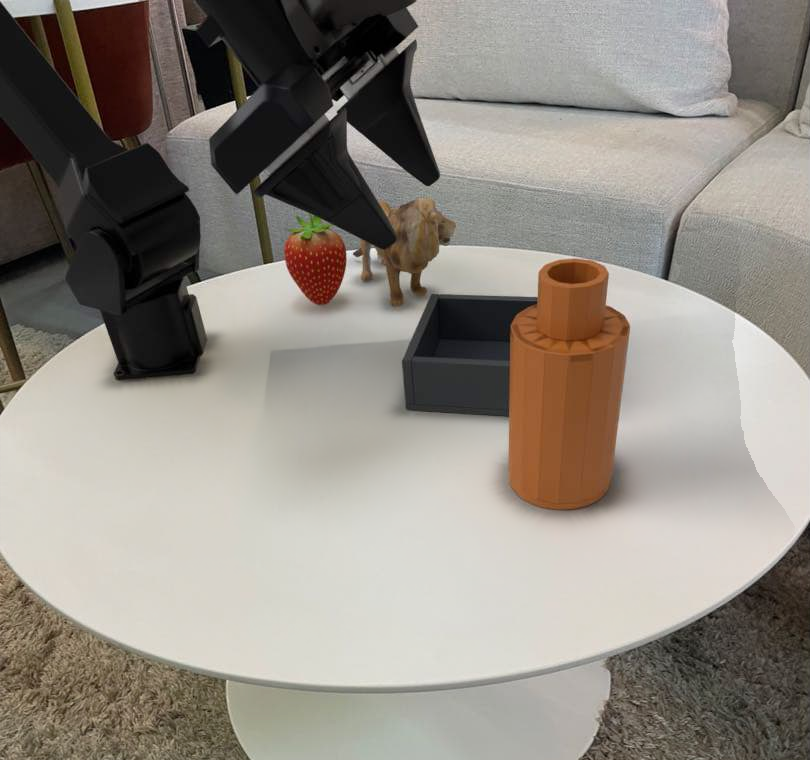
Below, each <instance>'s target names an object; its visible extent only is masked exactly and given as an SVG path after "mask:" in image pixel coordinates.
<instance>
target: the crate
mask: <svg viewBox="0 0 810 760" xmlns="http://www.w3.org/2000/svg"><path fill="white" fill-rule="evenodd" d="M537 299H538V296H516V295H515V296H514V295H485V294H454V293H453V294H451V293H440V294H439V293H431V294H430V296H429V298H428V300H427V303H426V305H425V307H424V310H423V312H422V314H421V317H420V319H419V321H418V323H417V326H416V328H415V330H414V332H413V335H412V337H411V339H410V341H409V343H408V346H407V348H406V351H405V353H404V355H403V357H402V359H401V368H402V369H401V370H402V380H403V382H402V383H403V391H404V402H405V404H404V405H405V407H404V408H405V410H406V411H421V412H437V413H453V414H466V415H467V414H468V415H469V414H470V415H472V414H473V415H485V416H501V417H509V398H510V336H511V324H512V322H513V320H514V318H515V317H516V315H517V314H519V313H520V312H522V311H523V310H525V309H526V308H528V307H530V306H533V305H537Z"/></svg>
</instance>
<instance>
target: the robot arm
mask: <svg viewBox="0 0 810 760" xmlns="http://www.w3.org/2000/svg"><path fill="white" fill-rule="evenodd" d="M191 1H192V2H193V4H194V5H195V6H196V8H197V9H198V11H199V12H200V13H201V14H202V15H203V17H204V19H203V20H202V21H201V22H200V23H199V25H198V26H197V27H196V29H195V30H194V31H195V32H196V34H197V35H198V36H199V37H200V38H201V40H202V41H203V42H204V44H205V45H206V46H207V48H210V47H212V46H213V45H215V44H217V43H218V42H220V41H221V40H222V41H223V43H224V44H225V46H226V47H227V48H228V50H229V51H230V53H232V54H233V56H234V58H235V59H236V60H237V61H238V63H240V66H242V67H243V69H244V70H245V72H246V73H247V74H248V75H249V77H250V78H251V80H252V81H253V82H254V83H255V85H256V86H257V87H258V88H257V89H256V90H255V91H254V92H253V93H252V94H251V95H250V96H249V97H248V98H247V99H245V101H244V102H243V103H242V104H241V105H240V106H239V107H238V109H237V110H235V112H234V113H233V114H232V115H231V116H230V117H229V118H228V119H227V120H226V121H225V122H224V123H223V124H221V126H220V127H219V128H218V129H217V130H216V131H215V132H214V133H213V134H212V135H211V136H210V137H209V138H208V143H209V144H208V145H209V155H210V165H211V167H212V168H213V169H214V170H215V171H216V172H217V174H218V175H219V176H220V177H221V179H222V180H223V181H224V182H225V183H226V184H227V186H228V187H229V188H230V189H231V190H232V192H233V193H234V194H235V195H236V196H238V195H239V194H240V193H241V192H242V191H243V190H244V189H245V188H246V187H247V186H249V185H250V183H252V182H253V181H254V180H255V179H256V178H257V177H258V176H259V175H261V174H262V173H263V172H264V173H265V175H267V177H266V178H264V180H263V181H262V182H261V183H259V185H257V187H256V188H255V189H254V190H252V193H253V194H254V195H255V196H256V197H257V198H259V199H262V198H263V197H264V196H268V197H271V198H272V199H275V200H277V201H280V202H281V203H284V204H286V205H289V206H292V207H294V208H296V209H298V210H301V211H302V212H305V213H308V214H309V213H310V214H311V216H314V215H315V216H317V217H319V218H321V219H322V221H324V222H327V223H328V224H329V223H331V224H333V225H332V226H335V227H336V228H339V229H341V230H342V231H345V232H346V233H349V234H350V235H352V236H354V237H356V238H359V239H362V240H364V241H366V242H368V243H370V244H372V246H373V247H374V246H376V247H378V248H380V249H382V250H386V249H387V248H389V247H390V246H391V245H393V244H394V243H395V242H396V241H397V235H396V233H395V231H394V229H393V227H392V225H391V223H390V221H389V219H388V218H387V216H386V214H385V212H384V211H383V209H382V207H381V206H380V204H379V202H378V201H377V200H378V199H377V197H376V195H375V193H373V191H372V189H371V188H370V186H369V184H368V182H367V181H366V179H365V178H364V176H363V174H362V173H361V171H360V170H359V168H358V165H356V163H355V161H354V160H353V158H352V156H351V155H350V153H349V150H348V124H349V125H350V126H351V127H352V128H354V129H355V131H357V132H358V133H359V134H361V135H362V136H363V137H364V138H366V139H367V140H368V141H369V142H370V143H372V144H373V145H374V146H375V147H376V148H378V149H379V150H380V151H381V152H383V153H384V154H385V155H386V156H387V157H388V158H390V159H391V161H393V162H395V163H396V164H397V165H398V166H399V167H400V168H402V169H403V170H404V171H405V172H406V173H408V174H409V175H410V176H412V177H413V178H414V179H416V180H417V181H419V182H420V183H421V184H422V185H424V186H425V187H431V186H432V185H434V183H437V181H438V180H439V179H440V177H441V172H440V169H439V166H438V163H437V160H436V157H435V155H434V152H433V150H432V146H431V143H430V140H429V138H428V134H427V132H426V129H425V127H424V123H423V121H422V118H421V116H420V115H421V114H420V112H419V109H418V106H417V103H416V99H415V96H414V93H413V90H412V86H411V78H412V73H413V64H414V57H415V54H416V51H418V41H417V39H413V41H412V42H410V43H409V44H408V45H407V46H406V47H405V48H403V50H402V51H401V52H399V51H398V50H397V47H398V46H400V44H402V43H403V42H404V41H405V40H406V39H407V38H408V37H409V36H410V35H412V33H413V32H414V31H416V30H417V29H418V28H419V27H420V26H419V25H418V24H417V22H416V20H415V18H414V17H413V16H412V13H411V12H410V11H409V9H408V7H410V6H412V5H414V4H415V3H416V2H417V1H418V0H191ZM343 97H344V98H345V99H346V100H347V101H346V102H345V103H343V105H341V107H340V108H338V110H337V111H336V114H335V115H334V116H333V117H332V118H331V119H329V118H328V116H327V115H326V113H328V112H329V111H330V110H331V109H332V108H333V107H334V101H335V102H337V103H338V102H339V101H340V100H341V99H342V98H343ZM0 117H1V119H2V120H3V121H4V122H5V124H6V125H7V126H8V127H9V129H10V130H11V131H12V132H13V133H14V135H15V136H16V137H17V138H18V140H19V141H20V143H22V145H24V147H25V148H26V149H27V150H28V151H29V153H30V154H31V155H32V156H33V158H34V159H35V160H36V161H37V162H38V164H39V165H40V166H41V167H42V169H43V170H44V171H45V172H46V174H47V175H48V176H49V177H50V178H51V180H52V181H53V182H54V183H55V185H56V186H57V188H58V194H59V199H60V204H61V210H62V215H63V222H64V228H65V230H66V232H67V234H68V235H69V237H70V238H71V240H72V241H73V242H74V244H75V245H76V247H77V248H76V250H75V252H74V254H73V257H72V259H71V262H70V264H69V267H68V269H67V271H66V274H65V276H64V278H65V282H66V283H67V286H68V287H69V288H70V290H71V292H72V294H73V295H74V297H75V299H76V301H77V303H78V304H79V305H81V306H84V307H88V308H92V309H94V310H99V311H100V314H101V318H102V321H103V323H104V326H105V329H106V332H107V334H108V337H109V340H110V343H111V346H112V349H113V351H114V354H115V357H116V360H117V365H116V367H115V370H114V372H113V377H114V380H116V381H129V380H130V381H131V380H141V379H151V378H164V377H176V376H188V375H193V374H195V373H196V372H197V369H198V366H199V363H200V360H201V357H203V354H204V353H205V349H206V345H207V343H208V336H207V333H206V329H205V324H204V321H203V317H202V313H201V309H200V306H199V302H198V297H197V296H196V295H195V294H194V293H191V294H189V291H188V287H187V283H186V279H185V278H186V277H188V276H190V275H191V274H195V273H196V272H198V271H199V270H200V254H201V253H200V248H201V236H202V235H201V216H200V213H199V212H198V210H197V207H196V206H195V204H194V202H193V201H192V199H191V198H190V197H189V196H188V194H186V193H188V192H189V191H190V188H189V186H188V185H186V184H185V183H184V182H182V181H181V180H180V179H179V178H178V177H177V176H176V175H175V174H174V173H173V172H172V170H171V169H170V167H169V166H168V164H167V163H166V161H165V159H164V158H163V156H162V155H161V153H160V152H159V151H158V150H157V149H156V148H155V147H154V146H152V145H151V144H150V143H148V142H145V143H143V144H140V145H137V146H135V147H132V148H130V149H128V148H126V147H125V146H122V145H120V144H118V143H116V142H115V141H113V140H112V138H110V137H109V136H108V135H107V133H106V132H105V131H104V129H102V127H101V126H100V124H98V122H97V121H96V119H94V117H93V116H92V114H91V113H90V112H89V111H88V110H87V108H86V107H85V106H84V104H82V102H81V101H80V100H79V99H78V97H77V96H76V94H75V93H74V92H73V91H72V89H71V88H70V87H69V86H68V84H67V83H66V82H65V81H64V80H63V78H62V77H61V76H60V74H59V73H58V72H57V70H56V69H55V68H54V67H53V66H52V64H51V63H50V62H49V60H48V59H47V58H46V57H45V55H44V54H43V53H42V52H41V51H40V49H39V47H37V45H36V44H35V43H34V42H33V40H32V39H31V38H30V37H29V35H28V34H27V33H26V32H25V30H24V29H23V28H22V26H21V25H20V24H19V23H18V21H17V20H16V19H15V18H14V17H13V15H12V14H11V13H10V11H9V9H7V7H6V6H5V5H4V4H3V2H1V1H0ZM310 214H309V215H310Z"/></svg>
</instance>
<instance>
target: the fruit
mask: <svg viewBox="0 0 810 760" xmlns="http://www.w3.org/2000/svg"><path fill="white" fill-rule="evenodd" d="M308 215H309V222H307V221H305V220H303V219H302V218H301V217H300V216H299V215H297V214H295V217H296V221H297V222H298V224H299V225H300V226H301V227H299V228H286V227H284V228H283V229H284V230H285V231H287V232H290V233H291V234H290V235H288V237H287V239H286V241H285V244H284V248H283V253H284V254H283V255H284V260H285V266H286V268H287V271H288V273H289V275H290V277H291V278H292V280H293V281H294V283H295V284H296V286H297V287H298V288H299V290H300V291H301V293H302V294H303V295H304V296H305V297H306V298H307V299H308V301H310V302H311V303H312V304H314V305H317V306H325V305H327V304H329V303H330V302H331V301H332V300H333V299H334V298H335V296H336V295H337V293H338V291H340V288H341V285H342V283H343V280H344V277H345V274H346V269H347V260H348V259H347V249H346V246H345V242H344V240H343V239H342V237H341V236H340V234H339V233H338V232H336V231H335V230H333V229H331V228H330V227H332V226H334V225H333V224H331V223H329V222H328V223H325V224H322V222H323V219H321V218H319V217H317V216H315V215H312V214H310V213H308ZM312 216H313V217H312Z"/></svg>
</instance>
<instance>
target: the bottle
mask: <svg viewBox="0 0 810 760" xmlns="http://www.w3.org/2000/svg"><path fill="white" fill-rule="evenodd" d="M609 275H610V273H609V271H608V269H607V268H606V266H605V265H603V264H601V263H599V262H597V261H594V260H591V259H584V258H577V257H576V258H562V259H557V260H555V261H551V262H548V263H546V264H544V265H543V266H542V267H541V269H540V270H539V271H538V276H537V277H538V278H537V297H538V299H537V305H533V306H530V307H528V308H526V309H525V310H523V311H522V312H520V313H519V314H517V315H516V317H515V318H514V320H513V322H512V324H511V336H510V398H509V416H508V462H507V465H508V467H507V470H508V480H509V481H508V482H509V484H510V486H511V489H512V490H513V492H515V494H516V495H517V496H518V497H519V498H521V499H523V500H524V502H528V503H529V504H532V505H534V506H536V507H540V508H543V509H549V510H558V511H559V510H562V511H564V510H565V511H566V510H575V509H579V508H584V507H587V506H590V505H592V504H594V503H595V502H597V501H599V500H600V499H601V498H603V497H604V496H605V494H606V493H607V492H608V490H609V488H610V486H611V481H612V475H613V469H614V462H615V461H614V460H615V455H616V445H617V437H618V429H619V421H620V415H621V414H620V413H621V407H622V405H621V404H622V397H623V388H624V381H625V373H626V364H627V356H628V349H629V341H630V340H629V339H630V331H631V325H630V323H629V321H628V319H627V318H626V315H625V314H623V313H622V312H620V311H619V310H617V309H616V308H614V307H613V306H610V305H607V298H608V297H607V296H608V287H609V286H608V285H609V277H610V276H609Z"/></svg>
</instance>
